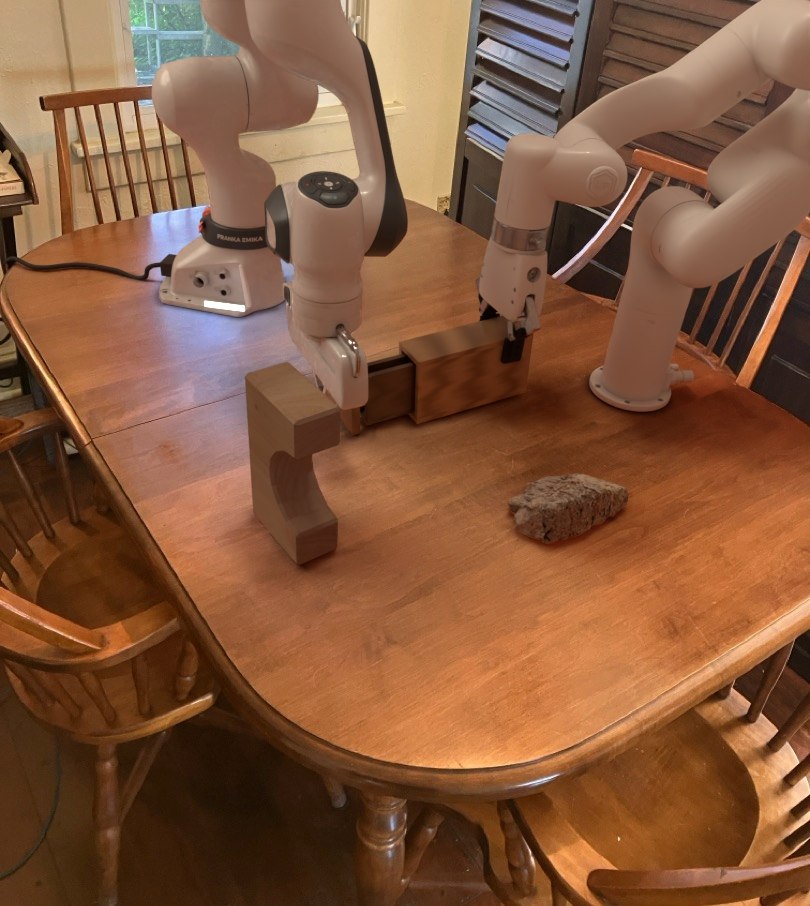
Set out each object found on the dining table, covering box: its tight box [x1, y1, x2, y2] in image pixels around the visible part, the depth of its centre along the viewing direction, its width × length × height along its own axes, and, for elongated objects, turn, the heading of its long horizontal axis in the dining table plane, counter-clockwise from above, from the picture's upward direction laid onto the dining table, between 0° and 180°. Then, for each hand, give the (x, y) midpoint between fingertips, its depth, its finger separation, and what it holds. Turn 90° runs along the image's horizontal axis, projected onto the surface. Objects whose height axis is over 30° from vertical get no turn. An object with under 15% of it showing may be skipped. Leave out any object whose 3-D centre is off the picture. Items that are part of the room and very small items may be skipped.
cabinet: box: [398, 315, 535, 425], centre depth 117 cm, size 19×6×10 cm, turn 117°
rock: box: [507, 472, 630, 545], centre depth 100 cm, size 15×10×6 cm
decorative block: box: [244, 361, 341, 566], centre depth 89 cm, size 11×6×20 cm, turn 35°
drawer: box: [336, 353, 416, 436], centre depth 112 cm, size 23×5×9 cm, turn 117°
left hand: (326, 400), depth 109 cm, fingers closed
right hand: (498, 349), depth 118 cm, fingers closed on cabinet, 6 cm apart
